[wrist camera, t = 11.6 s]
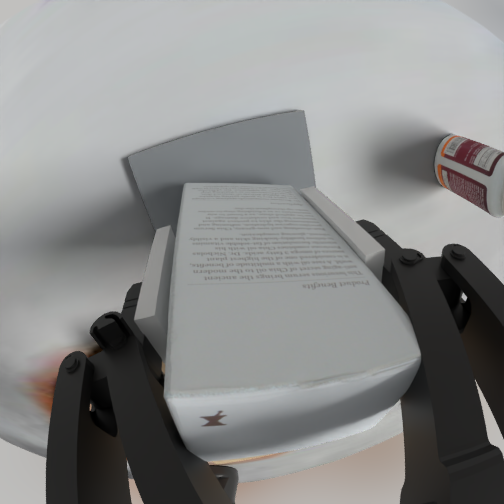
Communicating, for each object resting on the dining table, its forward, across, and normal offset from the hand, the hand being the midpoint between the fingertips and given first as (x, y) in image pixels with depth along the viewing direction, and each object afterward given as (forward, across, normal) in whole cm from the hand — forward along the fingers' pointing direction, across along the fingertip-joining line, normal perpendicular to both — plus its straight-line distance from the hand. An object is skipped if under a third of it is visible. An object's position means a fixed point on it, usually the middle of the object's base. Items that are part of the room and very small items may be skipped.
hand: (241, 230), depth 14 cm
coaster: (+3, 0, 0) cm, 3 cm away
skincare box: (+2, 0, 0) cm, 2 cm away
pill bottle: (+3, +18, 0) cm, 18 cm away
